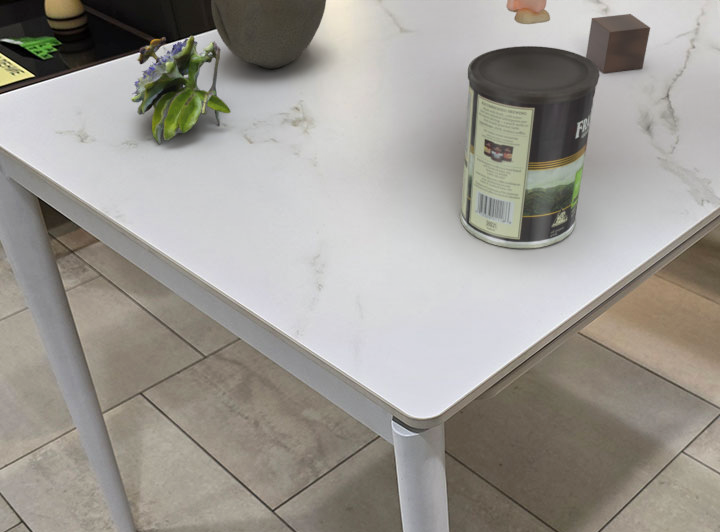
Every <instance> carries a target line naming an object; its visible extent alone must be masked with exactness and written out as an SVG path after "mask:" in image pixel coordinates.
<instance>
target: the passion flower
mask: <svg viewBox="0 0 720 532" xmlns="http://www.w3.org/2000/svg"><path fill="white" fill-rule="evenodd" d="M166 41H167V39H166V37H165V36H163V37H161V38H155V39H151V41H150V43H149V45H145V46H141V47H140V48H139V52H138V53H139V56H138V58H136V61H137V62H138V63H139V65H143V64H145V63H146V62H147V61H149V59H150V58H152V59H154V60H155V62H153V61H152V62H151V63H152V64H149V66H148V68H146V69H145V70H142V71H141V72H143V73H142V77H139V78H137V80H136V81H135V82H134V86H135V89H136V90H135V91H134V92H132V95H134V94H135V95H134V96H132V97H131V100H130V101H131V102H132V103H140V104H139V105H138V107H137V114H138V115H144V114H145V113H147V112H148V111H150V110H151V109H153V114H152V116H151V117H152V119H151V132H152V137H153V138H154V139H155V140H156V142H157V143H158V145H161V143H162V142H161V141H162V140H161V136H163V139H164V141H169V140H170V139H172V138H174V137H175V136H176V135H177V134H178V133H181V134H185V133H187V132H188V131H189V130H191V129H192V128H193V127H194V126H195V125H196V124H197V122H198V120H199V118H200V116H201V115H203V116H206V115H207V112H208V110H207V108H210V109H211V110H213V112H214V115H215V119H216V122H217V125H218V126H220V125H221V123H220V113H223V114H230V113H231V112H232V111H231V109H230V107H229V106H228V105H227V104H226V103H225V102H224V100H222V99H221V98H220V97H219V96H217V95H218V93H217V88H216V87H217V78H218V71H219V70H218V69H219V62H220V59H221V48H220V47H219V45H217V43H216V41H214V40H213V41H211V42H210V43H209V44H208V46H205V47H204V48H202V51H203V52H200V53H198V51H197V46H198V44H199V43H198V41H196V40H195V37H194V35H190V36H189V38H185V39H184V41H183V42H182V41H177V42H176V43H174V44H172V47H171V50H167V51H166V53H165V55H160V57H159V56H158V55H157V54H156V53H157V52H158V51H159V50H160V48H161V47H162V46H163V45H164V44H165V43H166ZM213 59H215V64H214V68H213V69H214V71H213V77H212V84H211V87H210V88H209V90H208V91H207V90H204V89H200V88H199V86H198V78H199V75H200V70H201V68H202V67H203V65H204V64H205V63H209V64H210V63H212V61H213ZM185 76H186V77H185ZM219 112H220V113H219ZM162 132H163V133H162ZM162 134H163V135H162Z"/></svg>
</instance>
